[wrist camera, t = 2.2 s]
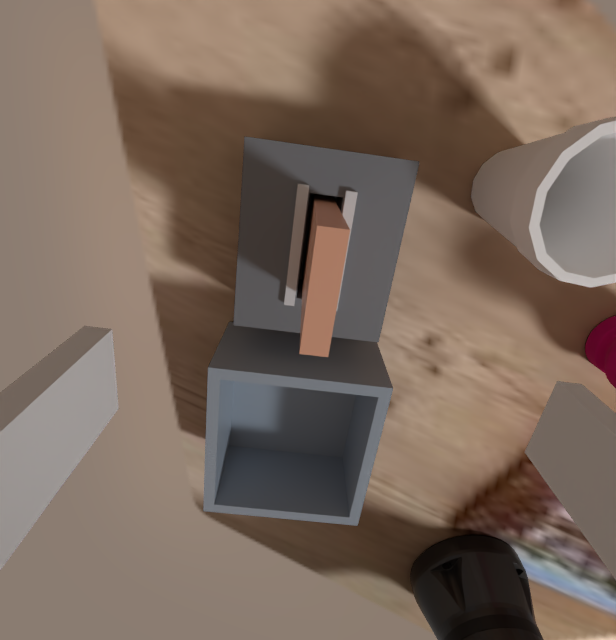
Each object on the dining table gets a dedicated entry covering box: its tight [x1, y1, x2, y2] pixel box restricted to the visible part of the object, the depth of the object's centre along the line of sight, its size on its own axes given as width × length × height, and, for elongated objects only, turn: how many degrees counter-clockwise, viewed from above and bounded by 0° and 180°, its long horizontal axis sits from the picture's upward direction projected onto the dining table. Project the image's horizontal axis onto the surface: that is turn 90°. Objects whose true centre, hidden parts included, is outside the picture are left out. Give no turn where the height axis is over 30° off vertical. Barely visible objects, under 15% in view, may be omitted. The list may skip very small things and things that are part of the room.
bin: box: [203, 322, 393, 526], centre depth 39 cm, size 16×15×9 cm
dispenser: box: [233, 137, 419, 342], centre depth 32 cm, size 14×12×8 cm
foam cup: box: [471, 117, 616, 288], centre depth 28 cm, size 10×9×13 cm
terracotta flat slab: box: [299, 194, 350, 357], centre depth 27 cm, size 7×2×15 cm, turn 173°
